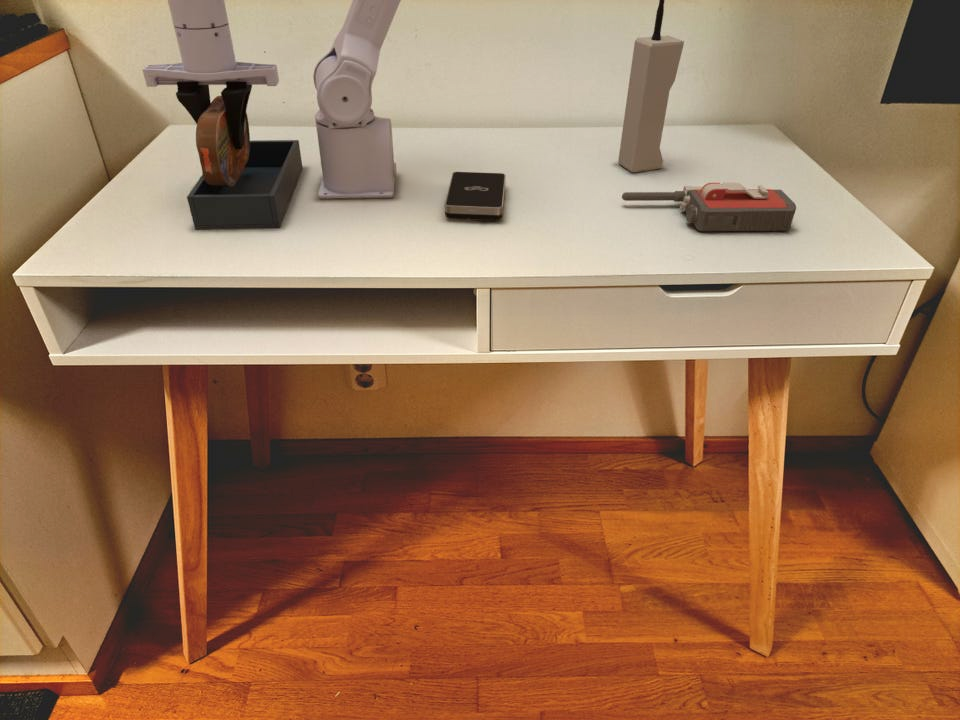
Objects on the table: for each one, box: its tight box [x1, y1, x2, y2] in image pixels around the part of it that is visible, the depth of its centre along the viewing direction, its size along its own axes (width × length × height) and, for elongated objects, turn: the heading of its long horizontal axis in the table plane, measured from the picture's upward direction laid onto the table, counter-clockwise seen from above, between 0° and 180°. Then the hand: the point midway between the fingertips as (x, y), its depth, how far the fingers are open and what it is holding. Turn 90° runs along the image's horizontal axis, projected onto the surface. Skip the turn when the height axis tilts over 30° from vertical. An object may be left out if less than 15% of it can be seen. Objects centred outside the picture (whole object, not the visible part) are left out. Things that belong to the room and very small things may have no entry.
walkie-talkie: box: [621, 182, 797, 232], centre depth 82 cm, size 9×4×20 cm
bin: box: [186, 139, 304, 230], centre depth 85 cm, size 10×19×4 cm, turn 4°
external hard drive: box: [444, 171, 506, 221], centre depth 85 cm, size 7×11×2 cm, turn 176°
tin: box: [195, 95, 251, 187], centre depth 82 cm, size 15×3×8 cm, turn 4°
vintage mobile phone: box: [617, 0, 685, 174], centre depth 89 cm, size 4×5×25 cm
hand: (227, 146), depth 83 cm, fingers closed on tin, 2 cm apart
